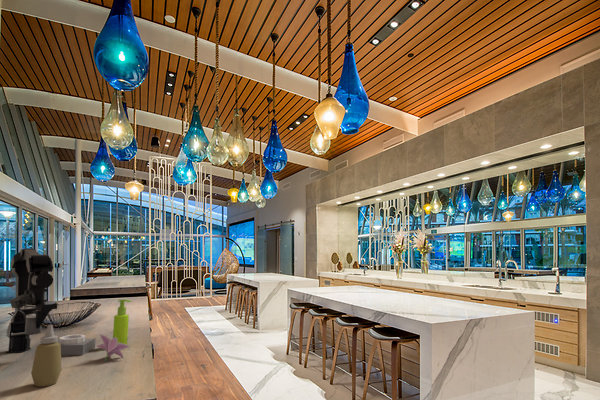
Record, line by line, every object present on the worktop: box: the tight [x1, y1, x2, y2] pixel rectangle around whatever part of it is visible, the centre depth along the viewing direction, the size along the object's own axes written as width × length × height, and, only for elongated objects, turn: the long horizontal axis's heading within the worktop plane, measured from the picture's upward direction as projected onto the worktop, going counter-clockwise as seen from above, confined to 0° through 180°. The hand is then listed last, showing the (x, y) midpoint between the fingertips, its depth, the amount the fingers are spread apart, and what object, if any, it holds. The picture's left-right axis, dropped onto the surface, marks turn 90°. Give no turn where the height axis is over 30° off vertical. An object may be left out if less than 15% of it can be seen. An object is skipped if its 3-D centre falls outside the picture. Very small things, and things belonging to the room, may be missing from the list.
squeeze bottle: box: [30, 324, 62, 387], centre depth 125 cm, size 8×8×18 cm
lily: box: [95, 333, 130, 363], centre depth 151 cm, size 12×12×10 cm
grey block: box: [25, 314, 42, 336], centre depth 153 cm, size 5×5×7 cm
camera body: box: [57, 334, 97, 357], centre depth 163 cm, size 14×12×6 cm
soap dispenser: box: [112, 299, 132, 345], centre depth 174 cm, size 6×7×20 cm
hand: (33, 327), depth 153 cm, fingers closed on grey block, 5 cm apart
